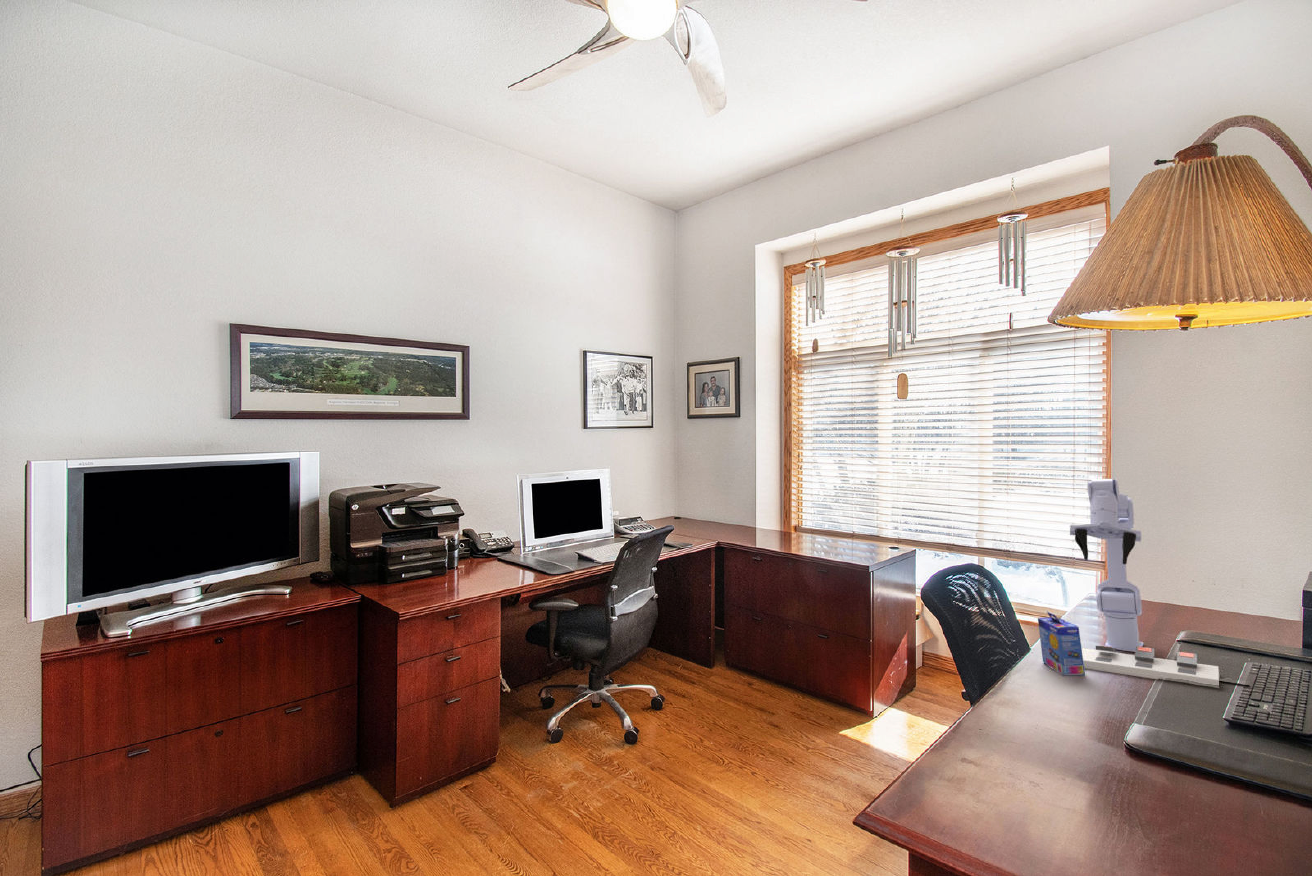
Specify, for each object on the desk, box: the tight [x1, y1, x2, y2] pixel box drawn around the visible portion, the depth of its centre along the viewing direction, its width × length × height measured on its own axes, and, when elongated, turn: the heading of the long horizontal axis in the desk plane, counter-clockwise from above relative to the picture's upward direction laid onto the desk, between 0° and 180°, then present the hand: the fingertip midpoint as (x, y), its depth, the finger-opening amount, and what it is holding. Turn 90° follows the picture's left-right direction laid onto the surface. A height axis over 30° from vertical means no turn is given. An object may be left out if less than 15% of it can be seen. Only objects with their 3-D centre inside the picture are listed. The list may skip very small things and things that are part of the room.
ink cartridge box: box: [1037, 611, 1086, 676], centre depth 152 cm, size 10×6×14 cm, turn 174°
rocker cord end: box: [1176, 651, 1198, 668], centre depth 143 cm, size 5×4×1 cm
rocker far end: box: [1095, 645, 1117, 653], centre depth 154 cm, size 5×4×1 cm
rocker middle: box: [1134, 646, 1155, 662], centre depth 149 cm, size 5×4×1 cm
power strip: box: [1082, 647, 1232, 685], centre depth 145 cm, size 11×32×2 cm, turn 46°
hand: (1105, 559), depth 146 cm, fingers open, 7 cm apart
